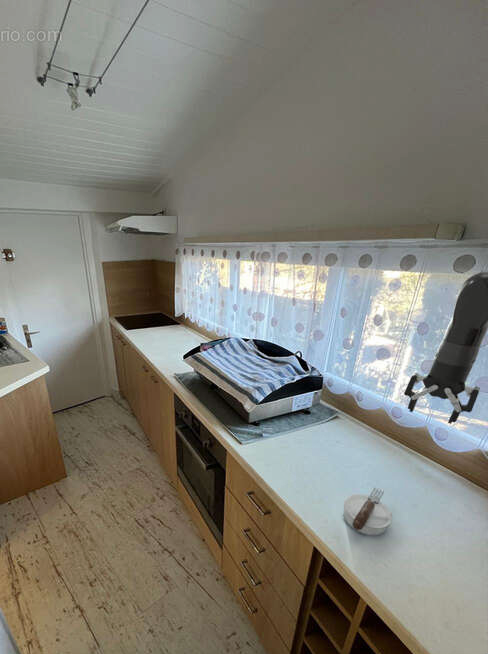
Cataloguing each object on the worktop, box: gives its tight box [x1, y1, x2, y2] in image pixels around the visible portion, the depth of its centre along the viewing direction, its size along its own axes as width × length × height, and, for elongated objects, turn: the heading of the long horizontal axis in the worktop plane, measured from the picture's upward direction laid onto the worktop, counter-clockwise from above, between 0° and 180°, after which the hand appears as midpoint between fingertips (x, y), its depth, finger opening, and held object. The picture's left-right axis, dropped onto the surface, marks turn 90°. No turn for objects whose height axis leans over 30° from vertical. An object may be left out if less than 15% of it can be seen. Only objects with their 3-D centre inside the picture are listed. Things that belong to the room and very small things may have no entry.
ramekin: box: [343, 493, 393, 536], centre depth 82 cm, size 11×11×5 cm
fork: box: [352, 486, 385, 531], centre depth 80 cm, size 19×2×2 cm, turn 135°
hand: (429, 416), depth 82 cm, fingers open, 8 cm apart
